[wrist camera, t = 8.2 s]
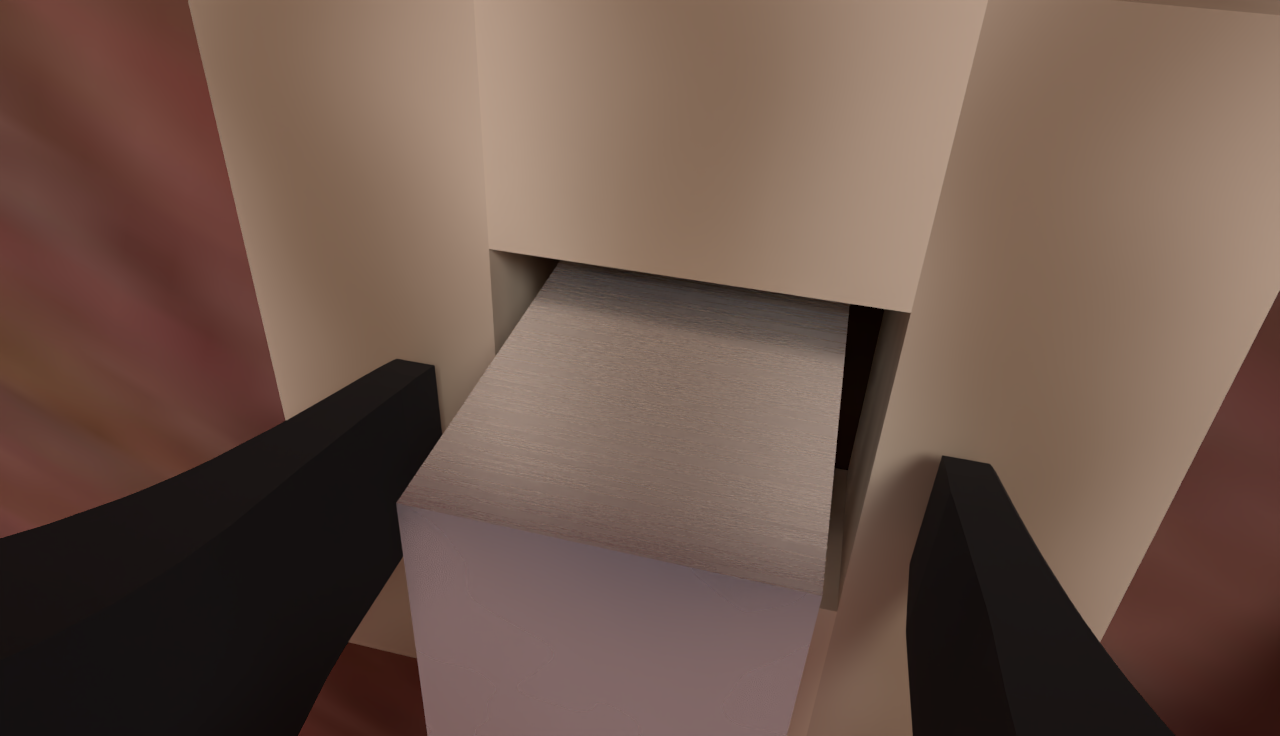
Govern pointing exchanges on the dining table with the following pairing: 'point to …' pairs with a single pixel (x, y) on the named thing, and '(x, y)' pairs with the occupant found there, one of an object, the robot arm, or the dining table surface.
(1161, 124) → the maple hole block
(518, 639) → the steel peg
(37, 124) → the dining table surface
